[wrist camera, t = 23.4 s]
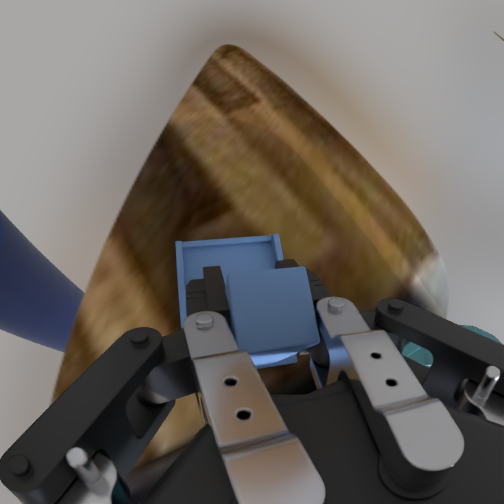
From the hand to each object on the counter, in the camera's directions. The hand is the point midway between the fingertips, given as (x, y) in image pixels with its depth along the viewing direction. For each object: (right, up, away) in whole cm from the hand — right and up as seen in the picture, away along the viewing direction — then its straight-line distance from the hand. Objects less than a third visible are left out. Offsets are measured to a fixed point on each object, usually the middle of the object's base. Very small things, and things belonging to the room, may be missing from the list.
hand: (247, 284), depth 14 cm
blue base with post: (-1, -2, +7) cm, 7 cm away
